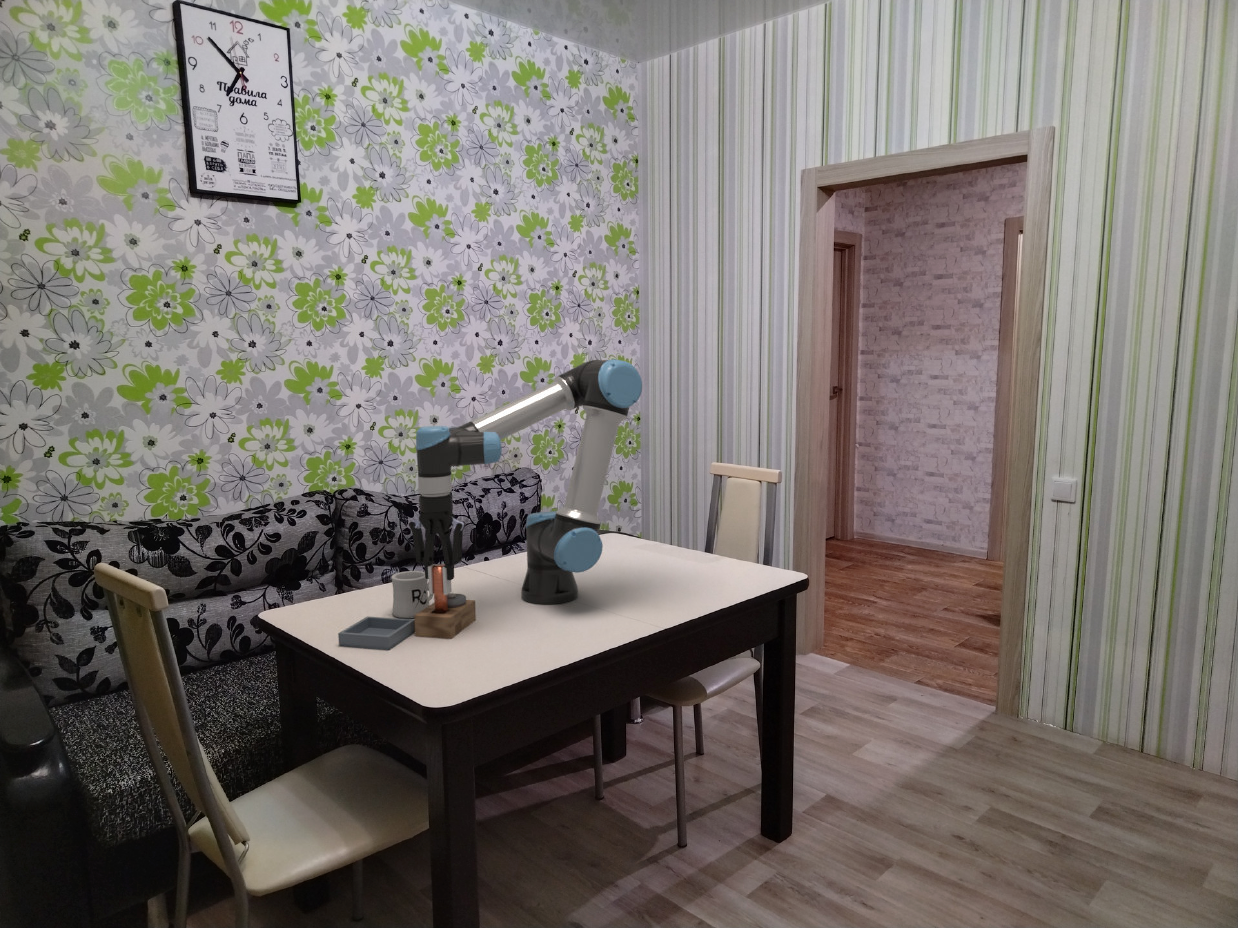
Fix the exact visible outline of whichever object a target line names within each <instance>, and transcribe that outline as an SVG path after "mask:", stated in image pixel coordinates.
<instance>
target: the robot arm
mask: <svg viewBox="0 0 1238 928" xmlns="http://www.w3.org/2000/svg"><path fill="white" fill-rule="evenodd" d="M642 392H643V382H642V377H641V375H640V372H639V370H638V369H637V368H636V367H635V366H634V365H632V363H630V362H628V361H625V360H621V359H616V358H613V359H593V360H588V361H586V362H584V363H580V364H579V365H577V366H575V367H573V368H571V369H569V370H567V371H565V372H563V373H562V374H559V375H557V376H555V377H554V378H553V380H552V383H549V384H547V385H545V386H543V387H541V388H538V389H537V390H534V391H532V392H530V393H528V394H526V395H524V396H522V397H519V398H517V399H515V400H513V401H511V402H508V403H507V404H505V405H502V406H500V407H499V408H496V409H494V410H491V411H490V412H487V413H485V414H483V415H482V416H479V417H477V418H475V419H472V420H470V421H469V422H466V423H464V424H462V425H459V426H458V427H448V426H447V425H445V426H444V425H434V426H433V425H431V426H422V427H420V428H418V429H417V430H416V435H415V436H416V437H415V440H416V441H415V451H416V462H417V480H418V481H417V482H418V483H417V487H418V493H419V494H420V495H419V497H418V500H419V501H418V503H419V504H418V506H419V511H420V513H419V516H418V518H417V519H414V520H412V521H410V522H409V523H408V526H409V528H410V530H411V531H410V532H411V534H412V540H413V548H414V557H415V560H416V561H415V562H416V563H418V564H421V565H423V567H424V572H425V578H426V579H428V582H429V591H428V594H429V595H430V594H433V593H434V585H433V566H434V565H437V564H436V563H435V560H434V555H435V554H434V553H435V542H436V536H437V535H438V539H440V545H441V549H442V554H443V559H444V567H442V571H443V591H444V595H447V594H449V593H452V591H453V590H452V580H454V579H455V565H458V564H459V563H461V562H462V559H463V558H462V557H463V533H464V529H465V527H466V522H465V521H460V520H458V519H457V518H455V517H456V516H455V515H454V511H453V510H454V507H453V506H454V504H453V494H452V493H451V492H452V491H453V485H452V483H453V481H452V467H461V466H474V465H477V466H478V465H488V464H494V463H498V462H499V461H500V459H501V456H502V447H503V446H502V441H501V440H503V439H506V438H508V437H509V436H513V435H514V434H516V433H518V432H520V431H522V430H524V429H526V428H529V427H532V425H535V424H537V423H539V422H541V421H543V420H545V419H547V418H549V417H551V416H553V415H556V414H558V413H560V412H562V411H565V410H566V411H572V410H575V409H578V408H580V407H582V409H583V411H584V412H585V420H584V424H583V428H582V431H581V435H580V440H579V444H578V448H577V451H576V452H577V453H576V456H575V461H574V464H573V468H572V472H571V476H570V481H569V484H568V488H567V493H566V496H565V500H564V501H565V502H564V504H563V507H561V508H560V509H558V510H555V511H554V510H552V511H541V512H533V513H530V514H528V515H527V517H526V523H525V524H526V525H525V529H526V533H525V534H526V561H527V566H526V567H527V568H526V571H525V573H526V574H525V577H524V579H523V583H522V586H521V592H520V593H521V599H522V600H523V601H525V602H528V603H531V604H537V605H538V604H540V605H556V604H562V603H567V602H568V603H569V602H571V601H574V600H575V599H577V598H578V596H579V588H578V584H577V581H576V578H575V575H574V573H577V574H578V573H583V572H587V571H588V570H590V569H591V568H593V567H594V566H595V565H597V563H598V561H599V560H600V558H601V556H602V553H603V540H602V539H601V536H600V535H599V532H600V529H601V528H600V527H601V520H600V519H599V517H598V511H599V506H600V503H601V498H602V494H603V490H604V487H605V482H606V478H607V474H608V471H609V466H610V464H611V463H610V462H611V458H612V454H613V452H614V446H615V443H616V438H617V436H618V431H619V426H620V424H621V423H622V422H623V421H625V420H626V419H628V415H629V411H630V407H631V406H634V405H635V404H637V402H638V400H639V399H640V397H641V395H642ZM422 527H423V528H424V529H425V531H424V536H423V531H422V530H423V529H422ZM451 527H452V529H453V534H452V535H453V539H452V542H451V537H450V536H451V530H450V528H451ZM424 537H425V540H424ZM424 542H425V543H424ZM433 595H434V594H433Z"/></svg>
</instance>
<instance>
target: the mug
mask: <svg viewBox="0 0 1238 928" xmlns="http://www.w3.org/2000/svg"><path fill="white" fill-rule="evenodd" d="M390 578H391V583H392V589H393V590H392V591H393V593H392V594H393V599H392V600H393V601H392V615H393V616H395V617H396V618H398V619H415V617H414V615H416V614H417V613H419V612H420V611H422V610H423V609H425V608H427V607H428V606H430V601H431V600H432V598H434V593H433V594H429V580H428V579H426V578H425V571H421V570H408V571H401V572H396V573H394V574H393V575H391V577H390ZM428 594H429V595H428Z"/></svg>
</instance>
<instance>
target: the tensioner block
mask: <svg viewBox="0 0 1238 928" xmlns="http://www.w3.org/2000/svg"><path fill="white" fill-rule="evenodd" d="M447 602H448V612H446V613H445V614H435V605H434V602H433V603H431V604H429V606H428V607H427V608H425V609H423V610H422V611H420V612H419V613H417V614H416V615H414V617H415V618H414V620H415V633H414V637H419V638H435V639H444V640H445V639H448V640H452V639H453V638H455V637H456V636H457V635H458V634H460V633H461V632H462V631H463V630H465V629H466V628H467V627H469V626H470V625H472V624H473V623H474V622H475V621H476V620H477V619H476V618H477V617H476V616H477V615H476V600H474V599H467V596H466V595H465V594H463V593H454V592H453V593H452V592H450V593H449V594H447Z"/></svg>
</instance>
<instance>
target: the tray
mask: <svg viewBox="0 0 1238 928" xmlns="http://www.w3.org/2000/svg"><path fill="white" fill-rule="evenodd" d="M412 635H415V619H413V618H398V617H396V618H395V617H381V616H369V615H368V616H366V617H364V618H362V619H360V620H359V621H356V623H354V624H352V625H350V626H348V627H347V628H344V630H342V631H340V632H338V635H337V636H338V646H339V647H344V648H345V647H346V648H358V649H368V650H369V649H370V650H382V651H391V650H392V649H393V648H395V647H396V646H398V645H399V644H400V643H403V642H404V641H405V640H407V639H408V638H410V637H411V636H412Z"/></svg>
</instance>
